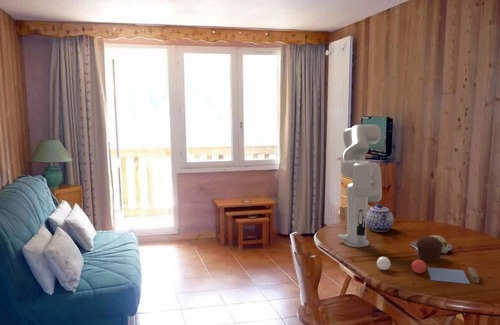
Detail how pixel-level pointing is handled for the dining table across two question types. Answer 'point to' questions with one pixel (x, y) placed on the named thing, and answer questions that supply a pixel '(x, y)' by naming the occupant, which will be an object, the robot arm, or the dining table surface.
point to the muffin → (429, 248)
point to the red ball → (418, 266)
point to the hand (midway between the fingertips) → (361, 232)
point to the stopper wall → (473, 275)
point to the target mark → (447, 275)
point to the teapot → (379, 218)
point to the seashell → (444, 243)
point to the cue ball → (383, 263)
